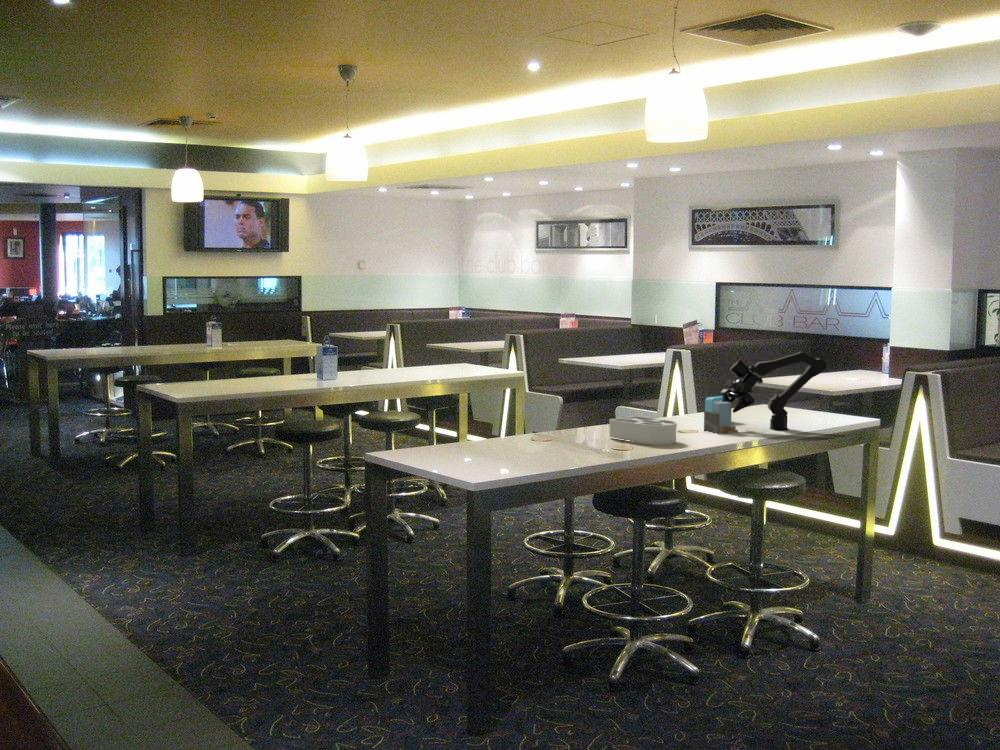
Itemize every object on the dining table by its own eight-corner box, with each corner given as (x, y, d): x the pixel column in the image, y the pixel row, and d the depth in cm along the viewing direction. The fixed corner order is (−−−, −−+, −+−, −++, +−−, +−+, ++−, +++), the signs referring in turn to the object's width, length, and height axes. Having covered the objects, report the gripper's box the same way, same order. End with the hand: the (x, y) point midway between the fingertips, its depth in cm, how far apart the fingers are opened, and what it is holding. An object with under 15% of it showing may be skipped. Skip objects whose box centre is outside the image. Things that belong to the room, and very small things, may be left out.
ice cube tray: (635, 435, 446) (635, 415, 446) (684, 443, 425) (684, 422, 424) (608, 439, 436) (608, 419, 435) (658, 447, 414) (658, 426, 414)
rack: (724, 429, 460) (724, 409, 459) (737, 432, 451) (738, 412, 450) (703, 430, 455) (704, 411, 454) (717, 434, 446) (717, 413, 445)
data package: (711, 423, 477) (712, 398, 476) (704, 422, 481) (704, 397, 479) (729, 421, 484) (729, 396, 483) (722, 420, 487) (722, 395, 486)
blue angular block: (725, 428, 456) (726, 401, 455) (731, 429, 453) (731, 402, 451) (712, 429, 453) (713, 402, 452) (718, 430, 450) (718, 403, 449)
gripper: (724, 371, 462) (703, 396, 459) (750, 374, 445) (729, 401, 442) (738, 387, 466) (718, 412, 463) (764, 391, 449) (743, 417, 446)
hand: (726, 410), depth 453 cm, fingers open, 9 cm apart
